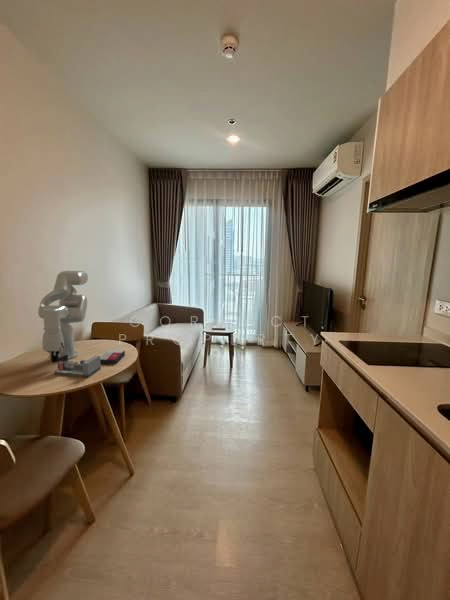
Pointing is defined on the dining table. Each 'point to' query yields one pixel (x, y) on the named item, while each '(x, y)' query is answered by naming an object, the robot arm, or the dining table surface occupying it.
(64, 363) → the plunger
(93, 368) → the gauge housing
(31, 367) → the dining table surface
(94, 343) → the dining table surface
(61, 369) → the drag pointer
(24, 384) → the dining table surface
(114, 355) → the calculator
